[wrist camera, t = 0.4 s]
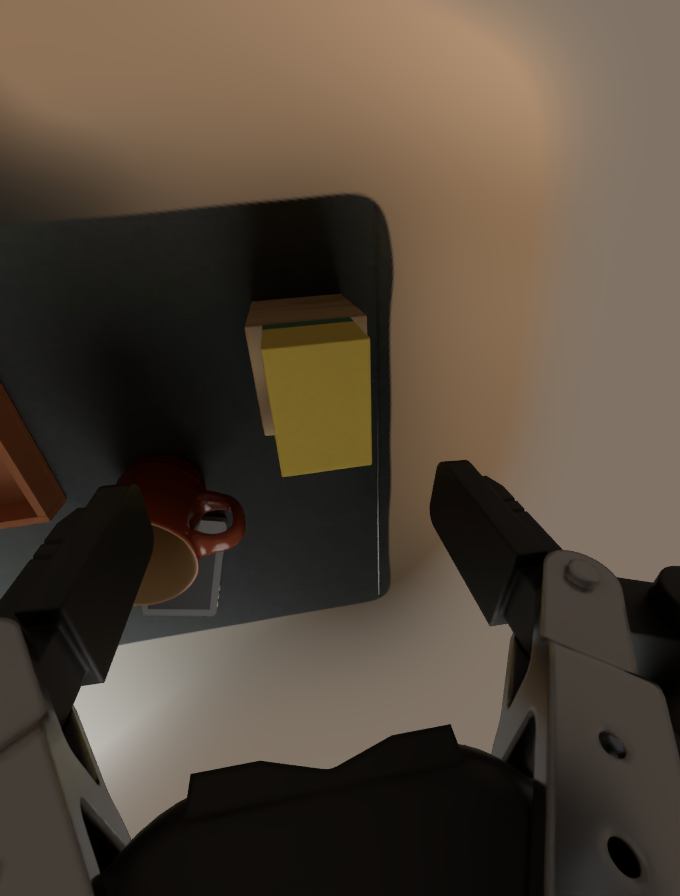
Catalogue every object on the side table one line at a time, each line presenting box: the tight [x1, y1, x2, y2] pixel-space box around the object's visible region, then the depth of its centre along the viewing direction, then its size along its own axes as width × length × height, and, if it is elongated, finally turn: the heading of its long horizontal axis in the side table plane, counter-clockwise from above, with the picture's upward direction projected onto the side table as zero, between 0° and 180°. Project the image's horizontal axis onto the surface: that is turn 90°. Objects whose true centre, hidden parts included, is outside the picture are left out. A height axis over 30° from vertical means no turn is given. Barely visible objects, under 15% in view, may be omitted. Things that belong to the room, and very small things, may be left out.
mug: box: [116, 455, 245, 606], centre depth 30 cm, size 12×9×10 cm
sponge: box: [260, 317, 372, 477], centre depth 20 cm, size 7×5×5 cm
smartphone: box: [142, 516, 227, 616], centre depth 40 cm, size 15×8×1 cm, turn 166°
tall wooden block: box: [245, 294, 367, 436], centre depth 26 cm, size 7×7×9 cm
